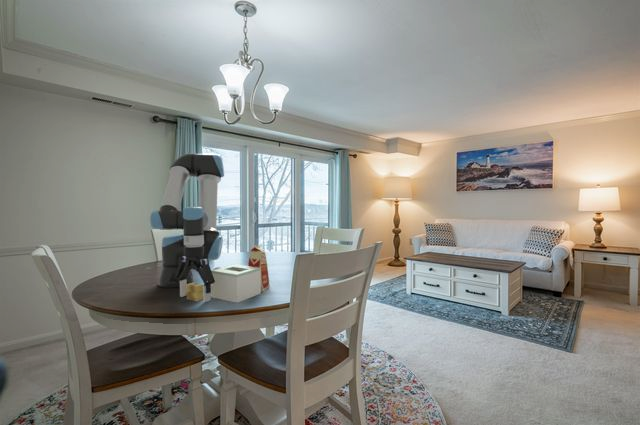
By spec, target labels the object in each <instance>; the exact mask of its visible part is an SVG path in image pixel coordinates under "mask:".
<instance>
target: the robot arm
mask: <svg viewBox="0 0 640 425" xmlns="http://www.w3.org/2000/svg"><path fill="white" fill-rule="evenodd" d="M170 165H171V166H170V167H169V169H168V176H169V178H168V181H167V185H166V188H165V191H164V195H163V197H162V201H161V204H160V207H159V210H155V211H152V212H151V214H150V218H149V220H150V221H149V222H150V226H151V228H152V229H155V230H173V229H174V230H177V229H179V230H181V229H182V230H183V232H182V233H176V234H169V235H166V236H164V237H163V238H162V240H161V261H162V263H161V265H162V269H161V272H160V275H159V279H158V286H159V287H161V288H179V297H181V298H182V297H187V289H186V284H190V283H195V282H194V280H195V278H194V274H193V272H192V270H194V271H196V272H197V273H198V275H199V276H200V279H201V280H202V282H203V284H202V285H203V300H202V301H203V303H207V302H210V301H211V294H212V285H211V284H213V283H215V280H214V277H213V274H212V269H211V267H210V261H217V260H218V259H219V258H220V257H221V254H222V249H223V239H224V238H223V235H220V231H219V230H218V229H217V219H218V218H217V216H218V189H219V188H218V184H219V183H220V182H221V181H222V178H224V177H225V170H224V163H223V158H222V155H220V154H218V153H213V152H212V153H193V152H191V153H190V152H188V153H185V154H183V155H181V156H179V157H178V158H177V159H175V160H174V161H173V162H172V164H170ZM191 177H195V178H196V180H197V181H198V182H199V189H198V190H199V192H198V193H199V194H198V206H185V207H184V208H182V210H180V208H181V204H182V199H183V195H184V192H185V189H186V183H187V181H188V180H190V178H191Z"/></svg>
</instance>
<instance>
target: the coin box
mask: <svg viewBox="0 0 640 425" xmlns="http://www.w3.org/2000/svg"><path fill="white" fill-rule="evenodd" d="M211 271H212V274H213V277H214V280H215V283H213V284H211V298H213V299H218V300H222V301H228V302H232V303H241V302H243V301H245V300H248V299H250V298H253V297H256V296H258V295H261V293H262V291H261V268H258V267H251V266H248V265H243V264H236V263H235V264H232V265H228V266H224V267H220V269H216V270H213V269H211Z"/></svg>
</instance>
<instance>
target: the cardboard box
mask: <svg viewBox="0 0 640 425" xmlns="http://www.w3.org/2000/svg"><path fill="white" fill-rule="evenodd" d="M203 285H204V284H201V283H197V282H193V283H190V284H186V289H187V295H186V300H189V301H193V302H200V301H203Z"/></svg>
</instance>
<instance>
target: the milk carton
mask: <svg viewBox="0 0 640 425" xmlns="http://www.w3.org/2000/svg"><path fill="white" fill-rule="evenodd" d="M253 246H254V247H253V248H252V249H250V250H249V257H248V261H247V266H251V267H258V268H261V292H265V291H266V290H267V289H268V288H270V285H271V284H270V277H269V275H270V274H269V269H268V262H267V261H268V260H267V255H266V251H265V250H263V249H262V248H261V246H260V245H257V244H253Z"/></svg>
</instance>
